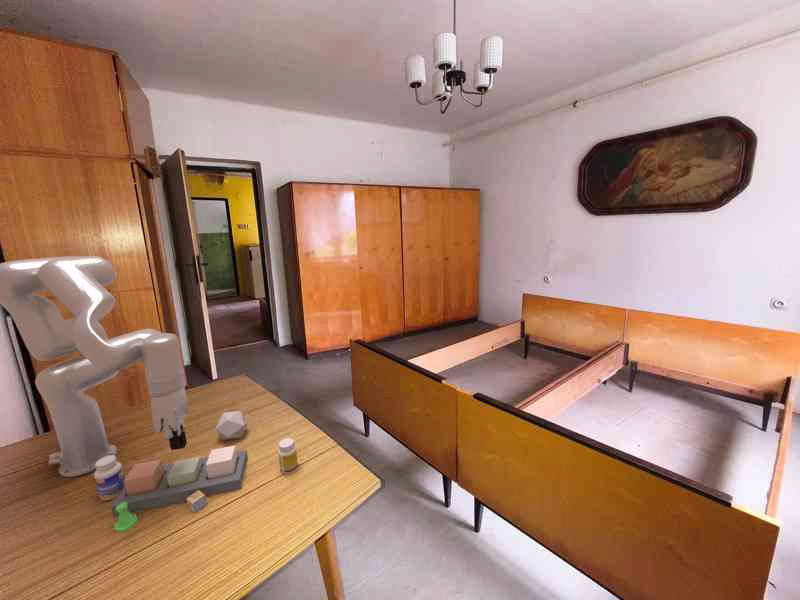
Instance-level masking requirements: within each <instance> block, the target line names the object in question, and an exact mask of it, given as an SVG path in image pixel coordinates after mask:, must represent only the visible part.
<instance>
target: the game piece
mask: <svg viewBox="0 0 800 600" xmlns="http://www.w3.org/2000/svg"><path fill="white" fill-rule="evenodd" d="M127 507H128V503H126V502H122V503H120V504H118V505H117V507H116V512H119V513H120V514H119V516H118V518H117V522H116V523H115V524H114V530H115V533H125V532H126V531H128V530H131V529H132V528H133V527H134V526H136V524H137V523H138V522H139V520H138V517H137V515H136V513H135V514H134V513H130V512H129V511H128V510H126V509H127Z"/></svg>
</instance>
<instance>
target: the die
mask: <svg viewBox="0 0 800 600" xmlns="http://www.w3.org/2000/svg"><path fill="white" fill-rule="evenodd" d="M248 423H249V420H248V419H247V418H246V416H245V415H244V414H243V412H242V411H241V410H237V411H229V412H223V413H222V414H221V416H220V419H219V420H218V423H217V425H216V426H215V428H214V429H215V431H216V433H218V435H219V436H220V438H221V439H222V440H224V441H227V440H237V439H241V438H242V437H243V435H244V432H245V430H246V427H247V425H248Z"/></svg>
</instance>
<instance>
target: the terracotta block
mask: <svg viewBox="0 0 800 600" xmlns="http://www.w3.org/2000/svg"><path fill="white" fill-rule="evenodd" d="M163 466H164V464H163V461H162V459H156V460H149V461H145V462H141V463H135V464H134V465H133V467H132V468H131V470H130V471H129V473H128V474H127V475H126V477H125V480H124V485H125V489H126V493H127V496H131V495H136V494H141V493H145V492H150V491H155V490H157V489H158V487H159V485H160V483H161V481H162V479H163V477H164V476H165V473H164V468H163Z"/></svg>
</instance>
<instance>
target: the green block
mask: <svg viewBox="0 0 800 600" xmlns="http://www.w3.org/2000/svg"><path fill="white" fill-rule="evenodd" d="M201 458H202V457H201V456H196V457H192V458H191V457H190V458H186V459H180V460H175V461H174V463H173V464H174V465H173V467H172V469H171V471H170V472H169V474H168V476H167V480H168V485H169V487H174V486H179V485H184V484H189V483H193V482H197V480H198V478H199V475H200V473H201V470H202V463H201Z"/></svg>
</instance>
